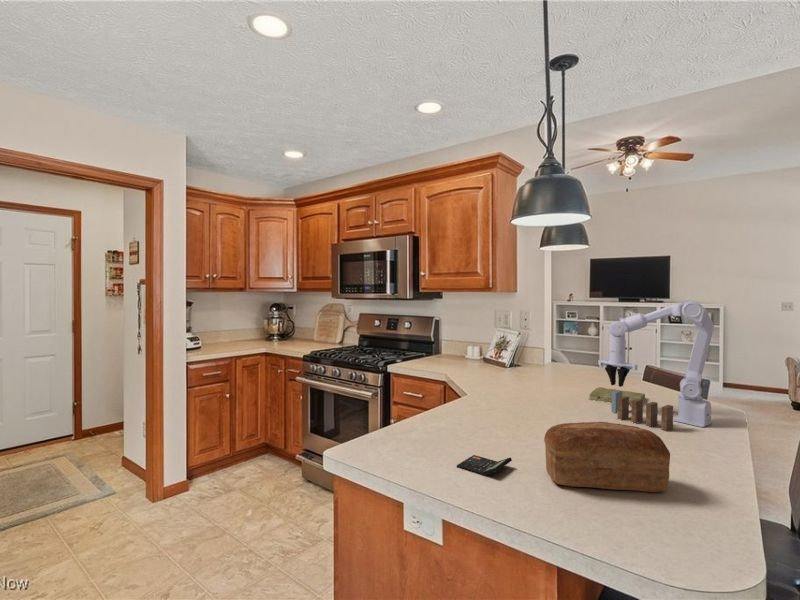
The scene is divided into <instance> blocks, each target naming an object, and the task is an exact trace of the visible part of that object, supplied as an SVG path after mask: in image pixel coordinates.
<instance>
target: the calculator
mask: <svg viewBox="0 0 800 600" xmlns="http://www.w3.org/2000/svg"><path fill="white" fill-rule="evenodd" d="M512 461H513V459H512V457H511V456H510V457H508V458H505V459H501V460H499V461H497V460H493V459H490V458H486V457H484V456H483V457H482V456H480V455H479V456H478V455H475V454H473V455H471V456H470V457H468V458H466V459H465V460H463V461H462V462H460V463H458V464H456V468H458V469H460V470H464V471H468V472H470V473H474V474H476V475H480V476H487V475H491V474H494V473H497V472H499V471H500V470H501V469H502V468H504V467H506V465H508V464H509V463H511V462H512Z"/></svg>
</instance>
